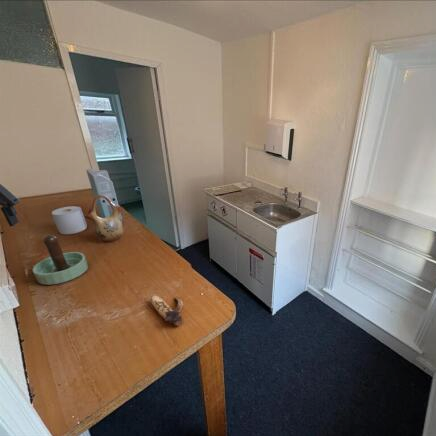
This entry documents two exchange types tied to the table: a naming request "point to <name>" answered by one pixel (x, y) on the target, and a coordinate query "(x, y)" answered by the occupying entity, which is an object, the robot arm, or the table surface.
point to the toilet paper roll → (69, 220)
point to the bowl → (48, 276)
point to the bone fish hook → (168, 310)
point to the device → (103, 191)
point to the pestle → (55, 253)
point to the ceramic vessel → (106, 222)
